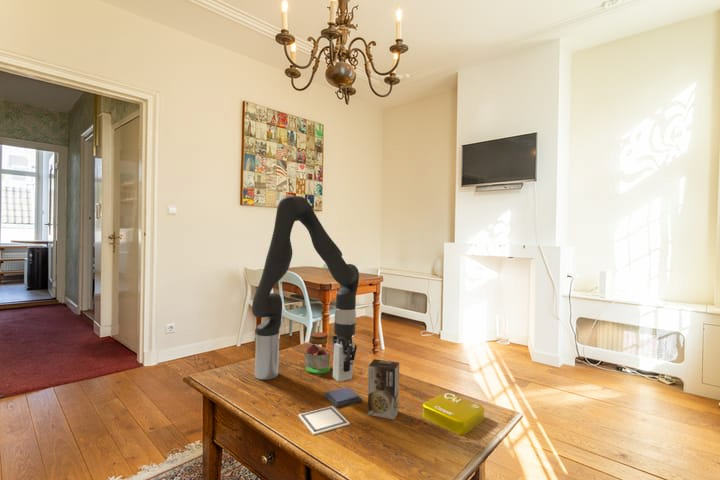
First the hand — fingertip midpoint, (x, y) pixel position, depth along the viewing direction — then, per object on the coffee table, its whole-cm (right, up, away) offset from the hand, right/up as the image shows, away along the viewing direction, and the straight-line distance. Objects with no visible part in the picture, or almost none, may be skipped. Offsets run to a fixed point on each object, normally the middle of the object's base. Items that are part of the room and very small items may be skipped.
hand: (343, 368), depth 121 cm
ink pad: (0, -10, 0) cm, 10 cm away
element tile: (+36, -12, -11) cm, 40 cm away
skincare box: (0, -4, 0) cm, 4 cm away
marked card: (-5, -10, -15) cm, 19 cm away
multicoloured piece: (-13, -10, +26) cm, 31 cm away
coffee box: (+14, -11, -10) cm, 20 cm away
